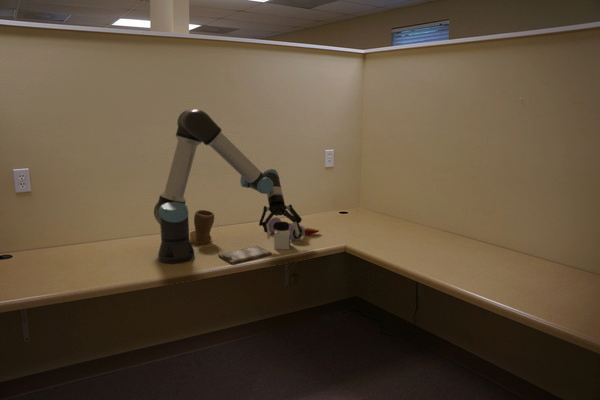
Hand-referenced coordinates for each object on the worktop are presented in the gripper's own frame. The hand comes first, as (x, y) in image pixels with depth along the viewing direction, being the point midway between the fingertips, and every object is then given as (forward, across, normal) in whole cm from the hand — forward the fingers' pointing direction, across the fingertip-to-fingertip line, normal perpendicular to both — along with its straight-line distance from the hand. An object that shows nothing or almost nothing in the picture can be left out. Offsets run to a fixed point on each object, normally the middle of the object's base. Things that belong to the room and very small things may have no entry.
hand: (283, 236), depth 205 cm
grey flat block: (+8, +19, -1) cm, 20 cm away
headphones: (-11, -11, -20) cm, 25 cm away
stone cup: (-12, +35, -21) cm, 42 cm away
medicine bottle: (+3, 0, -6) cm, 6 cm away
